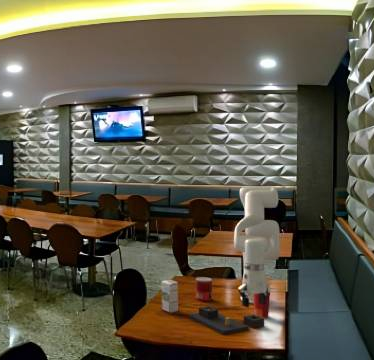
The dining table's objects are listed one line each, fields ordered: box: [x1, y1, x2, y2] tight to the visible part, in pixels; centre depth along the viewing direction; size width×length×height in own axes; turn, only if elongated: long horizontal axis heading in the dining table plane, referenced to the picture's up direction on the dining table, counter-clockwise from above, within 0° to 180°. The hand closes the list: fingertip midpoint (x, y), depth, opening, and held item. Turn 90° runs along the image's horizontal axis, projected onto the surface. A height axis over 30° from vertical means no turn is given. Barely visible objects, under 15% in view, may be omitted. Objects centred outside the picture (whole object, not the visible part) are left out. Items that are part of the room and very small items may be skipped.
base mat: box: [188, 309, 250, 336], centre depth 201 cm, size 14×22×4 cm, turn 21°
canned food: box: [195, 276, 213, 302], centre depth 235 cm, size 8×8×11 cm
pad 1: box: [198, 305, 219, 319], centre depth 206 cm, size 6×6×4 cm
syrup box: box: [161, 279, 179, 314], centre depth 219 cm, size 6×6×14 cm
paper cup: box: [253, 287, 272, 319], centre depth 209 cm, size 8×8×14 cm
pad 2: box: [243, 314, 265, 329], centre depth 198 cm, size 6×6×4 cm
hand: (253, 305), depth 197 cm, fingers open, 9 cm apart
